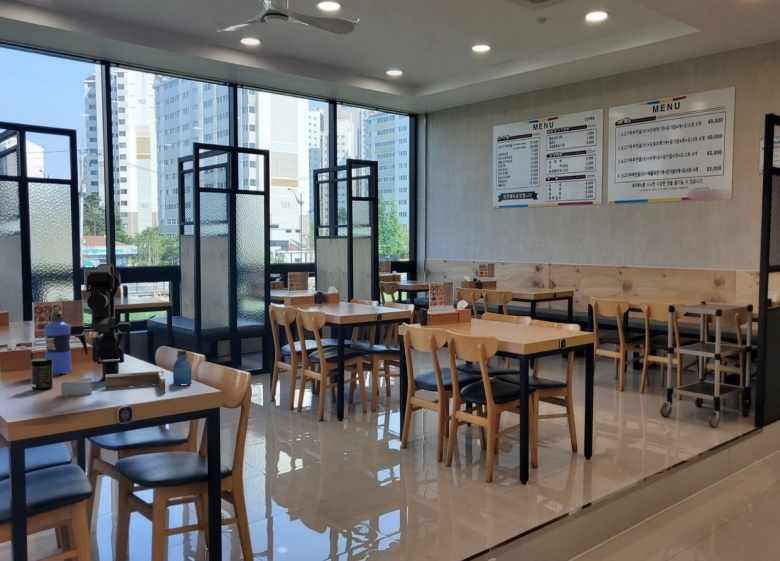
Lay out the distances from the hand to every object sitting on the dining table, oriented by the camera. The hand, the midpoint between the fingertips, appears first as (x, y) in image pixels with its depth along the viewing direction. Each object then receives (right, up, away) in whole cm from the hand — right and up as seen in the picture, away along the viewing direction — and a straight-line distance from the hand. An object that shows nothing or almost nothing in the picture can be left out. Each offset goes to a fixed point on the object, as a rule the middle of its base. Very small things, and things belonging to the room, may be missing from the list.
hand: (101, 353), depth 220 cm
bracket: (-9, -13, 0) cm, 16 cm away
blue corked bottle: (+23, -13, +15) cm, 30 cm away
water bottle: (-34, -12, +37) cm, 52 cm away
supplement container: (-24, -13, +7) cm, 28 cm away
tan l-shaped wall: (+10, -13, +3) cm, 17 cm away
